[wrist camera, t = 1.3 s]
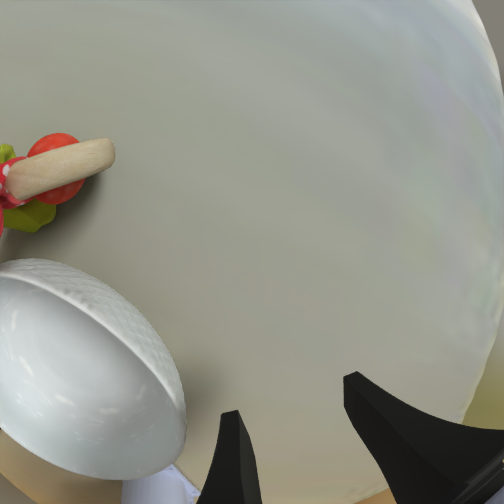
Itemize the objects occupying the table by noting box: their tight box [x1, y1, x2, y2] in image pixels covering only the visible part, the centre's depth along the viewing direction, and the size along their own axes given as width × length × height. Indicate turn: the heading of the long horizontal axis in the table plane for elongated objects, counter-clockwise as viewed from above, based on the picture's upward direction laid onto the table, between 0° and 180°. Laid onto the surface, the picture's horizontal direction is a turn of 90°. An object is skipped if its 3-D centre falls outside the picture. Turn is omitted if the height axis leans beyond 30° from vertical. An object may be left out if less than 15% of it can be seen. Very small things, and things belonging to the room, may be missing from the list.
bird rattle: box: [0, 133, 115, 237], centre depth 10 cm, size 6×11×9 cm
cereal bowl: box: [0, 258, 187, 480], centre depth 14 cm, size 17×17×7 cm
